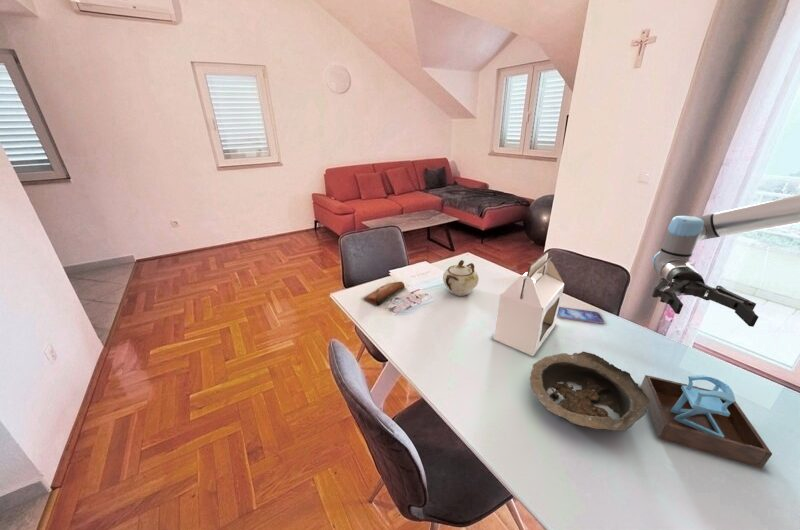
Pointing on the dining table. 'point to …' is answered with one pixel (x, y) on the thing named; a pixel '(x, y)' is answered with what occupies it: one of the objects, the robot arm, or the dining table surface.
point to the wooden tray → (704, 425)
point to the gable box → (529, 307)
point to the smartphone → (579, 315)
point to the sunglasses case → (384, 292)
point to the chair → (704, 403)
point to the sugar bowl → (460, 278)
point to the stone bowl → (588, 391)
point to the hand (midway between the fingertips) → (715, 315)
